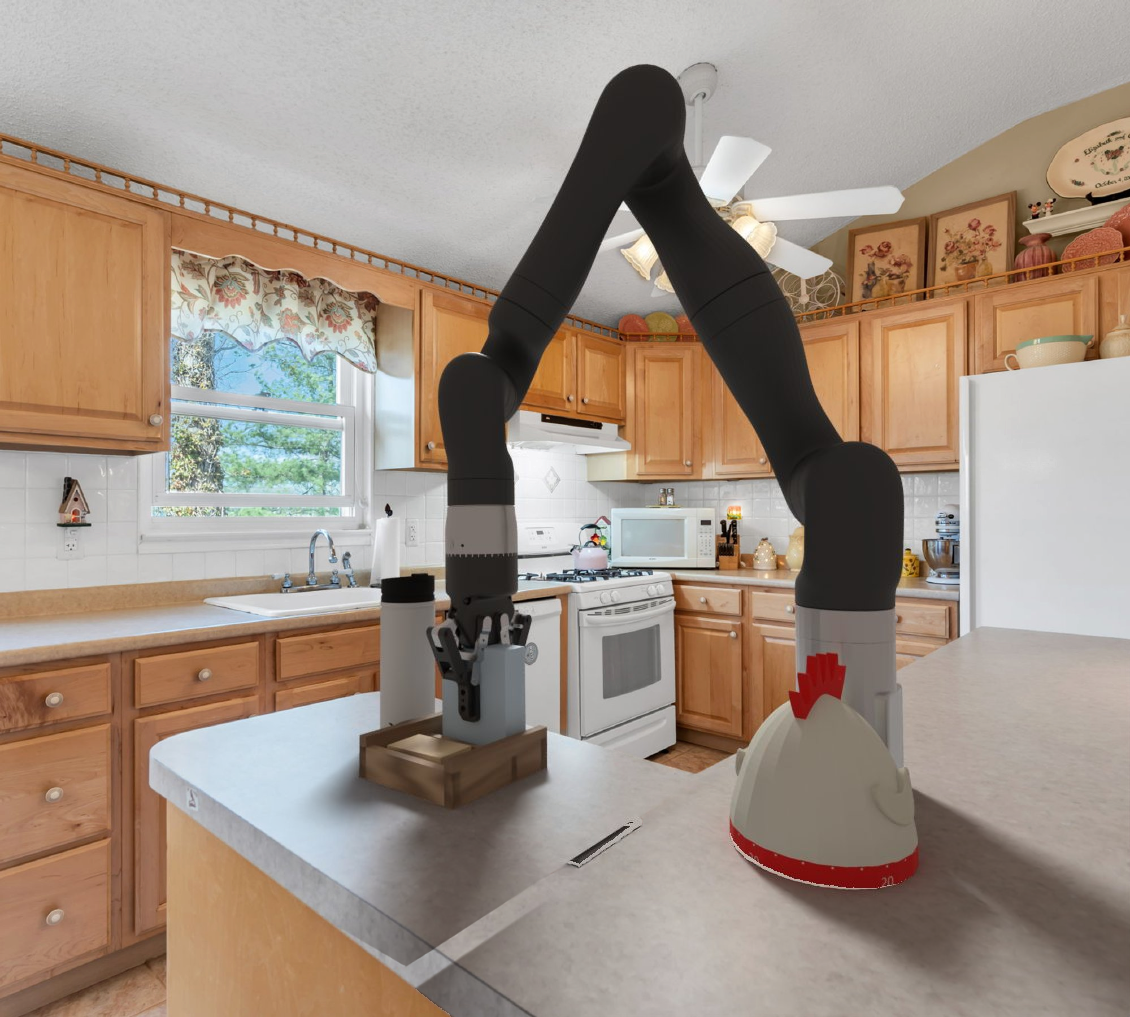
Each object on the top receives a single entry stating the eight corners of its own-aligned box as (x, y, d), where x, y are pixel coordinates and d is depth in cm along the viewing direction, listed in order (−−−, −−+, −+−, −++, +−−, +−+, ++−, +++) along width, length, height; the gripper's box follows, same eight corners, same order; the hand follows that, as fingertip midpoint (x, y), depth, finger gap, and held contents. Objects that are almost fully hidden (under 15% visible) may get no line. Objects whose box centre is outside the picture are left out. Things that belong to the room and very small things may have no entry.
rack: (547, 776, 69) (547, 726, 69) (452, 820, 59) (452, 762, 59) (456, 751, 77) (456, 707, 77) (359, 786, 67) (359, 734, 67)
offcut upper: (471, 762, 66) (471, 745, 66) (440, 775, 62) (440, 758, 62) (418, 749, 70) (418, 734, 70) (387, 761, 66) (387, 745, 66)
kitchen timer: (944, 845, 54) (941, 654, 55) (874, 914, 45) (870, 682, 45) (782, 796, 64) (780, 635, 65) (696, 844, 55) (694, 654, 55)
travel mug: (396, 757, 75) (396, 574, 76) (370, 743, 80) (371, 572, 81) (446, 745, 79) (446, 572, 80) (419, 732, 84) (419, 569, 85)
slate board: (525, 755, 69) (524, 646, 70) (505, 764, 67) (504, 650, 67) (463, 740, 75) (462, 638, 75) (442, 747, 73) (441, 642, 73)
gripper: (457, 552, 64) (459, 740, 63) (551, 548, 75) (553, 707, 74) (404, 551, 68) (405, 727, 68) (500, 547, 80) (502, 697, 79)
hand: (483, 715), depth 71 cm, fingers closed on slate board, 3 cm apart
